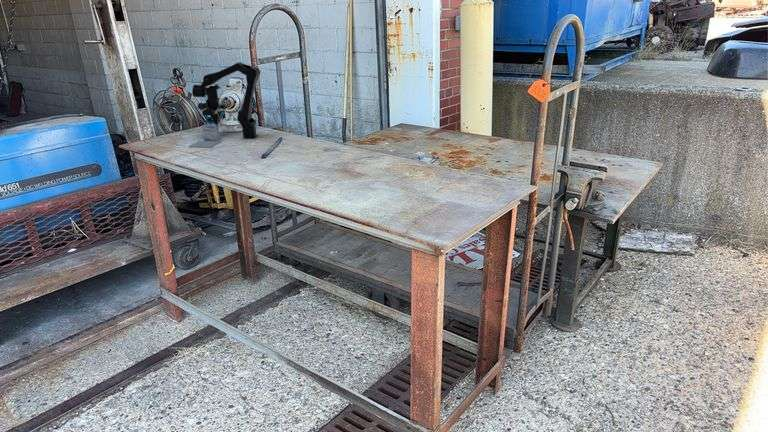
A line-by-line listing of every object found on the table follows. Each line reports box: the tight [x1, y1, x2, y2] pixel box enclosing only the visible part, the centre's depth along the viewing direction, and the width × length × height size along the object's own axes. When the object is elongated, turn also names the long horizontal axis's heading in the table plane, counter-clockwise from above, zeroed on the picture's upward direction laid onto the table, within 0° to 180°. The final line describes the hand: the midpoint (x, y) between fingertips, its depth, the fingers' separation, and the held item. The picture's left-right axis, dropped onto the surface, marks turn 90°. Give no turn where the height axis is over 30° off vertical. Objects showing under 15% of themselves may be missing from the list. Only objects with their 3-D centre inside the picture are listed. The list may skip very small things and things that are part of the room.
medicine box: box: [201, 124, 221, 141], centre depth 305 cm, size 8×4×9 cm, turn 76°
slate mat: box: [188, 140, 221, 149], centre depth 298 cm, size 13×12×1 cm
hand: (216, 124), depth 311 cm, fingers closed
